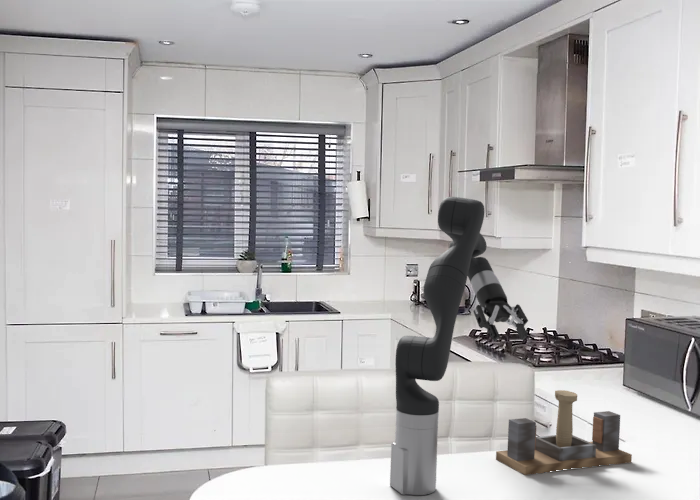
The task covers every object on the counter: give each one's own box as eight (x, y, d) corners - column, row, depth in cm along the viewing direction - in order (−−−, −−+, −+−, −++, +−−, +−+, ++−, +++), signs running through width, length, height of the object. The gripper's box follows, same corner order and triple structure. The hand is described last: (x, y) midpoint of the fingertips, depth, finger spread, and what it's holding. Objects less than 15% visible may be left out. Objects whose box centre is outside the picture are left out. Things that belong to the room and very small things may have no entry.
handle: (566, 448, 188) (568, 390, 187) (578, 456, 182) (581, 396, 181) (548, 449, 187) (551, 390, 186) (560, 457, 181) (563, 396, 180)
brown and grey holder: (524, 475, 173) (526, 428, 172) (495, 459, 184) (497, 415, 183) (631, 462, 185) (633, 418, 184) (598, 448, 196) (600, 407, 196)
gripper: (471, 282, 199) (493, 330, 189) (516, 282, 204) (539, 329, 194) (460, 299, 204) (481, 347, 194) (504, 299, 210) (526, 346, 199)
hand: (510, 338), depth 194 cm, fingers open, 8 cm apart
